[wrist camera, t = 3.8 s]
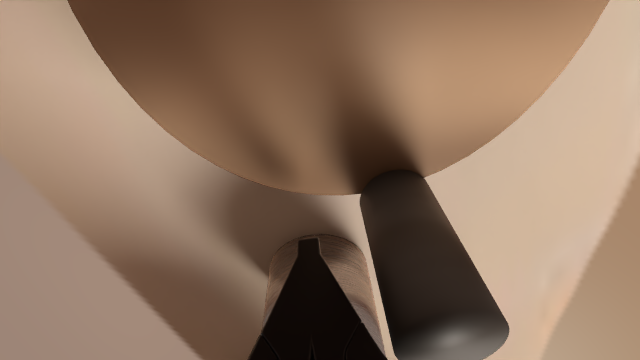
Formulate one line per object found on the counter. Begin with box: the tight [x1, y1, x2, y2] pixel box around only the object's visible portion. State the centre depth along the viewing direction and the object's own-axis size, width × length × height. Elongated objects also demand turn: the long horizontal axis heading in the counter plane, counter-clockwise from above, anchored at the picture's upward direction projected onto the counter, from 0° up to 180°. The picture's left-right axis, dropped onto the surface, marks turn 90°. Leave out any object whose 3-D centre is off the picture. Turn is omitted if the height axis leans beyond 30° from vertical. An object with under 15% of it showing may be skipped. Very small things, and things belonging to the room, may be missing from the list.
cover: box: [262, 234, 386, 357], centre depth 14 cm, size 5×5×5 cm
